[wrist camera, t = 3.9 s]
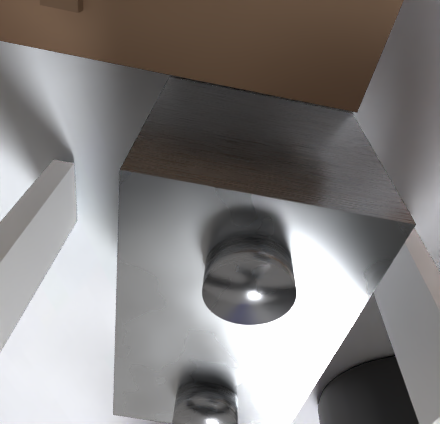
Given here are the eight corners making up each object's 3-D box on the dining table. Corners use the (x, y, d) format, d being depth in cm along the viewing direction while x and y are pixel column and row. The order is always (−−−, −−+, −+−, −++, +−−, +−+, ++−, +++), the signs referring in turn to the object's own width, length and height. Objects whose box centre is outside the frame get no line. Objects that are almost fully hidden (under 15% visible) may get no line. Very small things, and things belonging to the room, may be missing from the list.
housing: (170, 74, 12) (107, 192, 7) (351, 111, 13) (431, 250, 7) (148, 285, 18) (105, 439, 13) (272, 306, 18) (282, 464, 13)
